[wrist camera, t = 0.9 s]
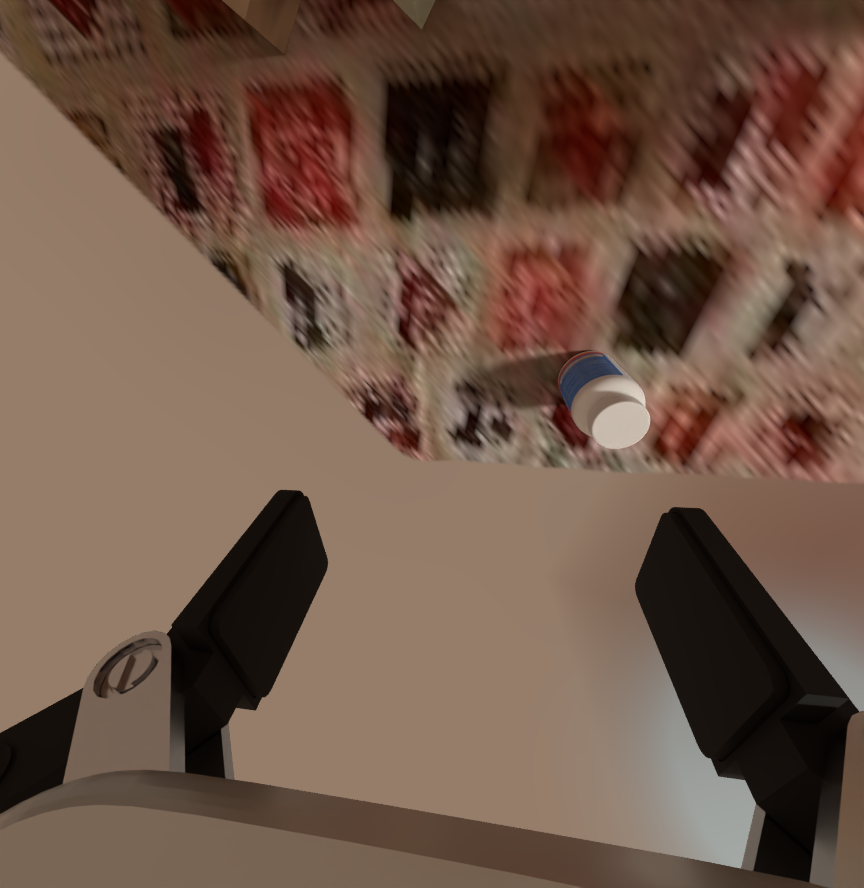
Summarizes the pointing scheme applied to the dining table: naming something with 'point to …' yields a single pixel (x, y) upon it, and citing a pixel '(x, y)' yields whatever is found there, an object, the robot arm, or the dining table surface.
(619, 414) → the pill bottle
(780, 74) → the dining table surface
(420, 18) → the sage block
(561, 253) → the dining table surface
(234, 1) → the tan square block
